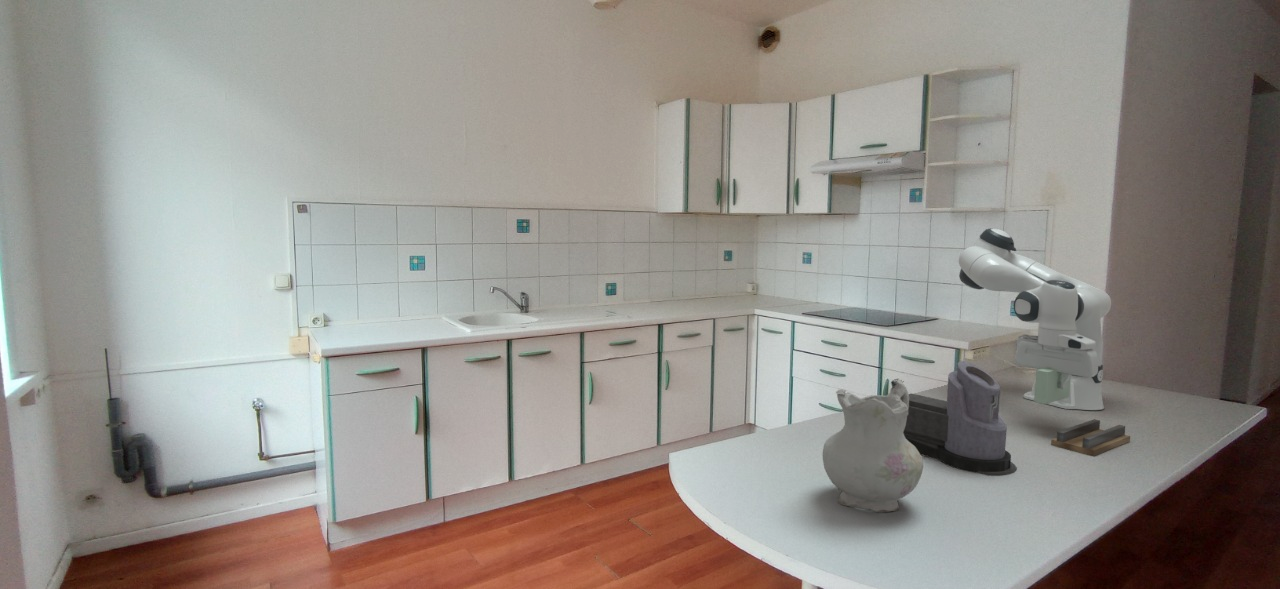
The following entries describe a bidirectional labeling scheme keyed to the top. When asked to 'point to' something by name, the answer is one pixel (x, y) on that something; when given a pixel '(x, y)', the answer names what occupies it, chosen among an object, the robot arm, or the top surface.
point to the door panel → (1049, 386)
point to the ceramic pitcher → (873, 451)
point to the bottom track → (1090, 438)
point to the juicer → (962, 424)
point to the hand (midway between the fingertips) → (1052, 386)
